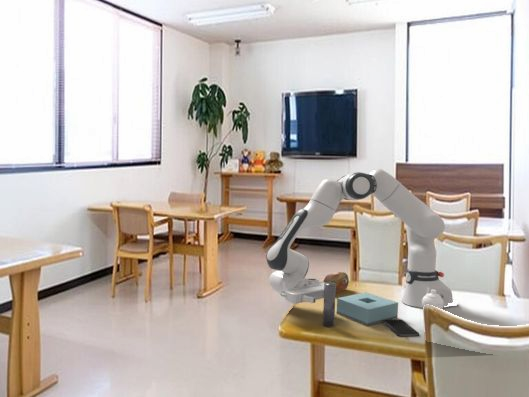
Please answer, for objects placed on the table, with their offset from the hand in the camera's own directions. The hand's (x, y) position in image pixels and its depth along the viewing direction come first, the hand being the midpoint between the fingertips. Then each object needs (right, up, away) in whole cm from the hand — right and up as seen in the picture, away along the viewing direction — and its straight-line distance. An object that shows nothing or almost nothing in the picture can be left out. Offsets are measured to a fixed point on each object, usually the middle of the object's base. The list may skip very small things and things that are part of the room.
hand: (324, 298), depth 180 cm
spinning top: (+40, -10, +5) cm, 42 cm away
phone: (+26, -11, -3) cm, 29 cm away
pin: (+1, -9, -2) cm, 9 cm away
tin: (+10, -6, +42) cm, 44 cm away
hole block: (+17, -8, +10) cm, 22 cm away
